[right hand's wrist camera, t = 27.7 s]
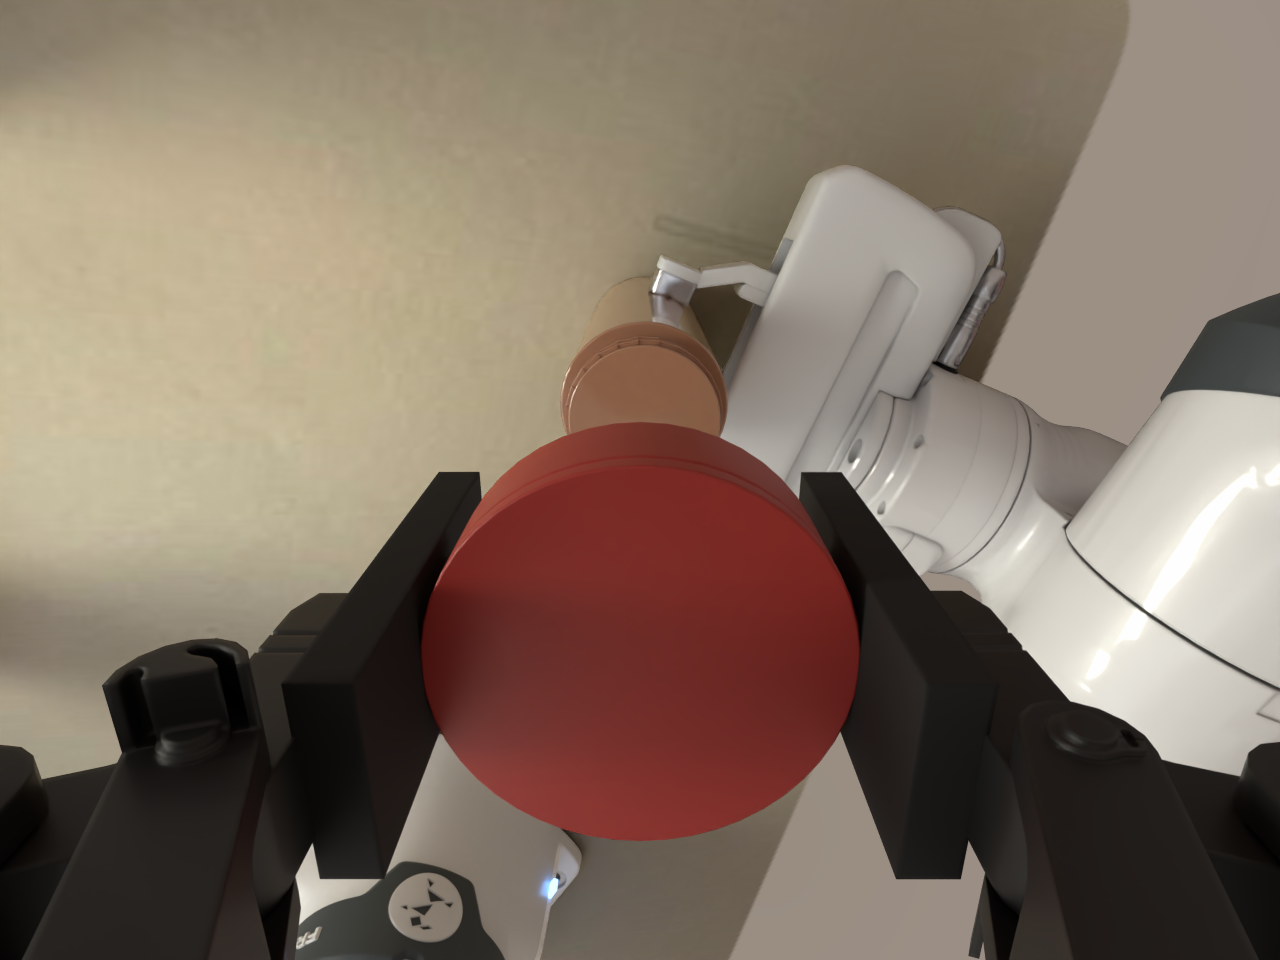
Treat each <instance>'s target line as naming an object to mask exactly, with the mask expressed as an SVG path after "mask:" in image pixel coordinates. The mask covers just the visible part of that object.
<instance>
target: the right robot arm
mask: <svg viewBox="0 0 1280 960" xmlns="http://www.w3.org/2000/svg"><path fill="white" fill-rule="evenodd" d="M481 500H482V498H481V486H480V473H479V472H439V473H438V474H437V475H436V477H435V478H434V479H433V481H432V482H431V483H430V485H429V486H428V487H427V489H426V490H425V491H424V493H423V494H422V495H421V497H420V498H419V499H418V501H417V502H416V503H415V505H414V506H413V507H412V509H411V510H410V511H409V513H408V514H407V516H406V517H405V518H404V520H403V521H402V522H401V524H400V525H399V526H398V528H397V529H396V530H395V532H394V533H393V534H392V536H391V537H390V538H389V540H388V541H387V542H386V544H385V545H384V546H383V548H382V549H381V550H380V552H379V553H378V554H377V556H376V557H375V558H374V560H373V561H372V562H371V564H370V565H369V566H368V568H367V569H366V570H365V572H364V573H363V574H362V576H361V577H360V579H359V580H358V581H357V583H356V584H355V585H354V587H353V588H352V589H351V591H350V592H349V593H319V594H317V595H316V596H314V597H313V598H311V599H309V600H308V601H306V602H304V603H303V604H301V605H299V606H298V607H296V608H295V609H293V610H291V611H290V612H289V614H288V615H287V616H286V617H285V618H284V619H283V621H282V622H281V623H280V624H279V625H278V626H277V628H276V629H275V630H274V631H273V635H270V636H269V637H268V638H267V639H266V640H265V642H264V643H263V644H262V645H261V646H260V647H259V652H258V653H254V654H253V656H252V657H251V658H250V659H249V656H248V651H247V650H246V649H245V648H244V647H242V646H241V645H240V644H238V643H237V642H234V641H228V640H223V639H218V638H215V639H198V640H189V641H185V642H181V643H176V644H172V645H168V646H164V647H161V648H159V649H156V650H154V651H151V652H149V653H146V654H144V655H141V656H139V657H137V658H135V659H134V660H132V661H131V662H129V663H127V664H126V665H124V666H123V667H121V668H119V669H118V670H116V671H115V672H114V673H113V674H112V675H111V677H110V678H109V679H108V680H107V681H106V682H105V683H104V684H103V685H102V687H103V691H104V694H105V697H106V701H107V704H108V707H109V711H110V714H111V717H112V721H113V724H114V727H115V731H116V734H117V737H118V741H119V744H120V747H121V751H122V754H121V756H120V758H119V760H118V762H117V763H116V764H112V765H108V766H104V767H99V768H95V769H90V770H85V771H80V772H75V773H70V774H66V775H61V776H56V777H51V778H46V779H41V776H40V773H39V771H38V768H37V765H36V762H35V759H34V756H33V755H32V754H30V753H29V752H27V751H26V750H25V749H23V748H22V747H15V746H5V745H0V960H295V953H296V944H297V936H298V928H299V920H300V912H301V903H300V896H299V890H298V885H297V881H296V874H297V872H298V870H299V868H300V866H301V864H302V862H303V861H304V859H305V857H306V855H307V853H308V851H309V849H310V847H311V845H312V843H313V848H314V853H315V858H316V863H317V868H318V873H319V878H320V879H384V878H385V876H386V873H387V871H388V868H389V865H390V863H391V860H392V857H393V855H394V852H395V849H396V847H397V844H398V841H399V839H400V836H401V833H402V831H403V828H404V826H405V823H406V820H407V818H408V815H409V812H410V810H411V807H412V804H413V802H414V799H415V796H416V794H417V791H418V788H419V786H420V783H421V781H422V778H423V775H424V773H425V770H426V767H427V765H428V762H429V759H430V757H431V754H432V751H433V749H434V746H435V744H436V741H437V738H438V736H439V733H440V729H439V727H438V725H437V723H436V721H435V719H434V717H433V714H432V711H431V708H430V706H429V703H428V700H427V697H426V693H425V687H424V680H423V672H422V663H421V650H420V644H421V635H422V627H423V620H424V617H425V613H426V609H427V606H428V602H429V598H430V596H431V593H432V591H433V589H434V587H435V585H436V582H437V580H438V578H439V576H440V574H441V572H442V570H443V568H444V566H445V564H446V563H447V561H448V559H449V557H450V555H451V553H452V551H453V549H454V547H455V546H456V544H457V542H458V540H459V538H460V536H461V534H462V533H463V531H464V529H465V527H466V525H467V523H468V521H469V520H470V518H471V516H472V514H473V513H474V511H475V510H476V508H477V506H478V505H479V503H480V502H481ZM799 500H800V502H801V504H802V505H803V507H804V508H805V510H806V512H807V513H808V515H809V516H810V518H811V520H812V522H813V524H814V525H815V527H816V529H817V531H818V533H819V535H820V537H821V538H822V540H823V542H824V544H825V546H826V548H827V550H828V551H829V553H830V555H831V557H832V559H833V561H834V563H835V564H836V566H837V568H838V570H839V572H840V574H841V576H842V578H843V580H844V582H845V585H846V587H847V589H848V592H849V594H850V596H851V598H852V602H853V606H854V610H855V613H856V617H857V621H858V627H859V636H860V659H859V668H858V676H857V684H856V692H855V697H854V700H853V702H852V705H851V708H850V711H849V714H848V716H847V719H846V721H845V723H844V725H843V727H842V729H841V731H840V732H841V734H842V737H843V740H844V742H845V745H846V748H847V750H848V753H849V756H850V758H851V761H852V763H853V766H854V769H855V771H856V774H857V777H858V779H859V782H860V785H861V787H862V790H863V793H864V795H865V798H866V800H867V803H868V806H869V808H870V811H871V814H872V816H873V819H874V822H875V824H876V827H877V830H878V832H879V835H880V838H881V840H882V843H883V845H884V848H885V851H886V853H887V856H888V859H889V861H890V864H891V867H892V869H893V872H894V875H895V877H896V879H961V875H962V870H963V865H964V860H965V855H966V850H967V845H968V840H969V842H970V844H971V846H972V848H973V850H974V852H975V854H976V856H977V858H978V860H979V862H980V863H981V865H982V867H983V869H984V871H985V876H984V881H983V885H982V890H981V895H980V899H979V904H978V909H977V913H976V918H975V923H974V928H973V932H972V937H971V943H970V949H969V956H971V957H975V958H978V959H979V957H980V952H981V948H982V943H984V951H985V959H986V960H1280V742H1273V743H1263V744H1260V745H1258V746H1257V747H1255V748H1254V749H1252V750H1251V751H1250V752H1249V753H1248V755H1247V758H1246V761H1245V764H1244V767H1243V770H1242V772H1241V775H1240V776H1236V775H1231V774H1226V773H1221V772H1217V771H1212V770H1207V769H1202V768H1197V767H1192V766H1188V765H1183V764H1178V763H1174V762H1170V761H1166V760H1162V759H1161V757H1160V755H1159V753H1158V751H1157V750H1156V749H1155V747H1154V746H1153V745H1152V744H1151V742H1150V741H1149V740H1148V738H1147V737H1146V736H1145V735H1144V734H1142V733H1141V732H1140V731H1138V730H1137V729H1136V728H1134V727H1133V726H1131V725H1130V724H1129V723H1127V722H1126V721H1124V720H1122V719H1120V718H1118V717H1116V716H1114V715H1112V714H1109V713H1107V712H1105V711H1103V710H1101V709H1098V708H1095V707H1091V706H1087V705H1083V704H1080V703H1076V702H1070V700H1069V699H1068V698H1067V697H1066V696H1065V695H1064V693H1063V692H1062V691H1061V690H1060V689H1059V688H1058V686H1057V685H1056V684H1055V683H1054V682H1053V681H1052V679H1051V678H1050V677H1049V676H1048V675H1047V674H1046V673H1045V671H1044V670H1043V669H1042V668H1041V667H1040V666H1039V664H1038V663H1037V662H1036V661H1035V660H1034V659H1033V657H1032V656H1031V655H1030V654H1029V653H1028V652H1027V650H1023V649H1022V645H1021V644H1020V642H1019V641H1018V640H1017V639H1016V638H1015V637H1014V635H1013V634H1012V633H1008V628H1007V627H1006V626H1005V625H1004V624H1003V623H1002V621H1001V620H1000V619H999V618H998V617H997V616H996V615H995V613H994V612H993V611H992V610H991V609H990V608H989V607H987V606H986V605H984V604H982V603H981V602H979V601H977V600H976V599H974V598H972V597H971V596H969V595H967V594H966V593H964V592H962V591H930V590H929V589H928V587H927V586H926V585H925V583H924V582H923V581H922V579H921V578H920V576H919V575H918V574H917V572H916V571H915V570H914V568H913V567H912V566H911V564H910V563H909V562H908V560H907V559H906V558H905V556H904V555H903V554H902V552H901V551H900V550H899V548H898V547H897V546H896V544H895V543H894V542H893V540H892V539H891V538H890V536H889V535H888V534H887V532H886V531H885V530H884V528H883V527H882V526H881V524H880V523H879V522H878V520H877V519H876V518H875V516H874V515H873V514H872V512H871V511H870V510H869V508H868V507H867V505H866V504H865V503H864V501H863V500H862V499H861V497H860V496H859V495H858V493H857V492H856V491H855V489H854V488H853V487H852V485H851V484H850V483H849V481H848V480H847V479H846V477H845V476H844V475H843V473H842V472H801V479H800V492H799Z"/></svg>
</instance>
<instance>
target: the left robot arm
mask: <svg viewBox="0 0 1280 960" xmlns="http://www.w3.org/2000/svg"><path fill="white" fill-rule="evenodd" d="M994 253H995V256H994V262H993V266H989V265H988V264H989V262H990V260H991V259H992V257H993V255H994ZM1004 260H1005V244H1004V240H1003V237H1002V235H1001V233H1000V231H999V230H998V229H997V228H996V226H995V225H993V224H992V223H991V222H989V221H988V220H986V219H983V218H981V217H979V216H977V215H975V214H973V213H970V212H968V211H966V210H964V209H962V208H958V207H954V206H943V207H938V208H934V209H930V208H929V207H927V206H926V205H924V204H923V203H922V202H920V201H919V200H917V199H915V198H914V197H912V196H911V195H909V194H908V193H906V192H904V191H903V190H901V189H900V188H898V187H896V186H894V185H893V184H891V183H889V182H887V181H886V180H884V179H882V178H880V177H878V176H876V175H874V174H872V173H870V172H868V171H866V170H864V169H862V168H860V167H857V166H852V165H840V166H836V167H833V168H830V169H827V170H825V171H823V172H821V173H818V174H816V175H814V176H813V177H812V178H811V179H810V180H809V181H808V183H807V185H806V187H805V189H804V191H803V194H802V196H801V198H800V200H799V203H798V205H797V207H796V209H795V211H794V214H793V216H792V218H791V220H790V223H789V225H788V227H787V229H786V232H785V234H784V236H783V238H782V241H781V243H780V245H779V247H778V250H777V252H776V254H775V256H774V259H773V261H772V263H771V265H770V267H769V270H766V269H764V268H761V267H759V266H756V265H754V264H752V263H749V262H747V261H738V262H731V263H725V264H718V265H711V266H705V267H700V269H699V270H698V269H696V268H693V267H691V266H689V265H686V264H684V263H682V262H679V261H677V260H675V259H672V258H670V257H667V256H664V255H660V258H659V261H658V263H657V266H656V268H655V271H654V274H653V276H652V279H651V282H650V284H649V287H648V289H649V290H650V291H652V292H654V293H656V294H659V295H663V296H667V295H670V296H671V298H672V299H673V300H675V301H676V302H678V303H680V304H683V305H685V306H688V304H689V302H690V300H691V298H692V295H693V293H694V291H695V289H696V288H697V289H698V288H706V287H713V286H721V285H728V284H735V286H734V288H733V289H734V292H735V293H736V294H737V295H738V296H739V297H741V298H743V299H745V300H747V301H750V302H752V303H753V306H752V308H751V310H750V312H749V314H748V317H747V319H746V321H745V323H744V326H743V328H742V330H741V332H740V335H739V337H738V339H737V341H736V344H735V346H734V348H733V350H732V353H731V355H730V357H729V359H728V362H727V364H726V366H725V368H724V370H723V373H722V374H723V377H724V380H725V384H726V387H727V395H728V412H727V418H726V423H725V426H724V429H723V432H722V434H721V436H720V438H722V439H724V440H726V441H728V442H730V443H732V444H734V445H736V446H738V447H740V448H742V449H744V450H745V451H747V452H748V453H750V454H751V455H753V456H754V457H756V458H757V459H759V460H760V461H762V462H763V463H764V464H766V465H767V466H768V467H769V468H770V469H771V470H772V471H774V472H775V473H776V474H777V475H778V476H779V477H780V478H781V479H782V480H783V481H784V482H785V483H786V484H787V486H788V487H789V488H790V489H791V490H792V491H793V493H794V494H795V495H796V496H797V497H798V499H799V492H800V479H801V472H842V473H843V475H844V476H845V477H846V479H847V480H848V481H849V483H850V484H851V485H852V487H853V488H854V489H855V491H856V492H857V493H858V495H859V496H860V497H861V499H862V500H863V501H864V503H865V504H866V505H867V507H868V508H869V510H870V511H871V512H872V514H873V515H874V516H875V518H876V519H877V520H878V522H879V523H880V524H881V526H882V527H883V528H884V530H885V531H886V532H887V534H888V535H889V536H890V538H891V539H892V540H893V542H894V543H895V544H896V546H897V547H898V548H899V550H900V551H901V552H902V554H903V555H904V556H905V558H906V559H907V560H908V562H909V563H910V564H911V566H912V567H913V568H914V570H915V571H916V572H917V574H918V575H919V576H921V575H923V574H924V573H926V572H927V571H928V572H931V573H937V574H944V575H951V576H955V577H958V578H960V579H963V580H965V581H967V582H968V583H970V584H971V585H972V586H973V587H974V588H975V589H976V590H977V591H978V592H979V594H980V597H981V603H982V604H984V605H986V606H987V607H989V608H990V609H991V610H992V611H993V612H994V613H995V615H996V616H997V617H998V618H999V619H1000V620H1001V621H1002V623H1003V624H1004V625H1005V626H1006V627H1007V628H1008V633H1012V634H1013V635H1014V637H1015V638H1016V639H1017V640H1018V641H1019V642H1020V644H1021V645H1022V649H1023V650H1027V652H1028V653H1029V654H1030V655H1031V656H1032V657H1033V659H1034V660H1035V661H1036V662H1037V663H1038V664H1039V666H1040V667H1041V668H1042V669H1043V670H1044V671H1045V673H1046V674H1047V675H1048V676H1049V677H1050V678H1051V679H1052V681H1053V682H1054V683H1055V684H1056V685H1057V686H1058V688H1059V689H1060V690H1061V691H1062V692H1063V693H1064V695H1065V696H1066V697H1067V698H1068V699H1069V700H1070V702H1076V703H1080V704H1083V705H1087V706H1091V707H1095V708H1098V709H1101V710H1103V711H1105V712H1107V713H1109V714H1112V715H1114V716H1116V717H1118V718H1120V719H1122V720H1124V721H1126V722H1127V723H1129V724H1130V725H1131V726H1133V727H1134V728H1136V729H1137V730H1138V731H1140V732H1141V733H1142V734H1144V735H1145V736H1146V737H1147V738H1148V740H1149V741H1150V742H1151V744H1152V745H1153V746H1154V747H1155V749H1156V750H1157V751H1158V753H1159V755H1160V757H1161V759H1162V760H1166V761H1170V762H1174V763H1178V764H1183V765H1188V766H1192V767H1197V768H1202V769H1207V770H1212V771H1217V772H1221V773H1226V774H1231V775H1236V776H1240V775H1241V772H1242V770H1243V767H1244V764H1245V761H1246V758H1247V755H1248V753H1249V752H1250V751H1251V750H1252V749H1254V748H1255V747H1257V746H1258V745H1260V744H1263V743H1273V742H1280V293H1279V294H1276V295H1273V296H1269V297H1266V298H1264V299H1261V300H1258V301H1256V302H1253V303H1250V304H1248V305H1245V306H1242V307H1240V308H1237V309H1235V310H1232V311H1230V312H1228V313H1225V314H1223V315H1221V316H1218V317H1216V318H1214V319H1211V320H1209V321H1208V322H1207V324H1206V326H1205V327H1204V329H1203V330H1202V332H1201V334H1200V335H1199V337H1198V338H1197V340H1196V341H1195V343H1194V345H1193V346H1192V348H1191V349H1190V351H1189V353H1188V354H1187V356H1186V357H1185V359H1184V361H1183V362H1182V364H1181V365H1180V367H1179V368H1178V370H1177V372H1176V373H1175V375H1174V376H1173V378H1172V380H1171V381H1170V383H1169V384H1168V386H1167V387H1166V389H1165V391H1164V392H1163V394H1162V396H1161V403H1160V405H1159V406H1158V407H1157V409H1156V410H1155V411H1154V412H1153V414H1152V415H1151V416H1150V418H1149V419H1148V420H1147V422H1146V423H1145V424H1144V426H1143V427H1142V428H1141V430H1140V431H1139V432H1138V434H1137V435H1136V436H1135V438H1134V439H1133V440H1132V442H1131V443H1130V444H1129V445H1128V446H1127V445H1125V444H1123V443H1120V442H1118V441H1116V440H1114V439H1111V438H1109V437H1107V436H1104V435H1102V434H1100V433H1097V432H1095V431H1092V430H1089V429H1084V428H1080V427H1071V426H1060V425H1056V424H1053V423H1050V422H1048V421H1046V420H1045V419H1043V418H1041V417H1040V416H1039V415H1038V414H1037V413H1036V412H1035V411H1034V410H1033V409H1031V408H1030V407H1029V406H1028V405H1026V404H1025V403H1023V402H1022V401H1020V400H1018V399H1017V398H1014V397H1012V396H1010V395H1007V394H1005V393H1002V392H1000V391H998V390H996V389H993V388H991V387H988V386H986V385H984V384H981V383H979V382H977V381H974V380H972V379H970V378H967V377H965V376H963V375H960V374H958V372H956V371H957V370H958V368H959V366H960V364H961V362H962V361H963V359H964V357H965V355H966V353H967V351H968V349H969V348H970V346H971V344H972V342H973V340H974V338H975V336H976V334H977V331H978V329H979V327H980V326H979V325H980V324H981V322H982V318H984V316H985V313H986V312H987V310H988V308H989V307H990V305H991V303H994V301H995V300H996V299H997V297H998V295H999V294H1000V292H1001V290H1002V288H1003V285H1004V283H1005V280H1006V276H1007V273H1006V272H1005V271H1003V270H1002V268H1003V265H1004ZM932 361H935V362H933V363H931V362H932ZM581 861H582V854H581V852H580V850H579V848H578V847H577V845H576V844H575V843H574V842H573V841H572V840H571V839H570V838H569V836H568V835H567V834H566V833H565V832H564V831H563V830H562V829H561V828H559V827H556V826H554V825H551V824H548V823H546V822H543V821H541V820H538V819H536V818H534V817H532V816H530V815H528V814H526V813H524V812H522V811H521V810H519V809H517V808H515V807H514V806H512V805H511V804H509V803H507V802H506V801H504V800H503V799H501V798H500V797H498V796H497V795H495V794H494V793H493V792H492V791H491V790H489V789H488V788H487V787H486V786H485V785H484V784H482V783H481V782H480V781H479V780H478V779H476V778H475V776H474V775H473V774H472V773H471V772H470V771H469V770H468V769H467V768H466V767H465V766H464V765H463V764H462V762H461V761H460V760H459V759H458V757H457V756H456V755H455V753H454V752H453V750H452V749H451V748H450V746H449V745H448V743H447V742H446V740H445V739H444V737H443V735H442V734H439V736H438V738H437V741H436V744H435V746H434V749H433V751H432V754H431V757H430V759H429V762H428V765H427V767H426V770H425V773H424V775H423V778H422V781H421V783H420V786H419V788H418V791H417V794H416V796H415V799H414V802H413V804H412V807H411V810H410V812H409V815H408V818H407V820H406V823H405V826H404V828H403V831H402V833H401V836H400V839H399V841H398V844H397V847H396V849H395V852H394V855H393V857H392V860H391V863H390V865H389V868H388V871H387V873H386V876H385V878H384V879H320V878H319V873H318V868H317V863H316V858H315V853H314V848H313V843H312V845H311V847H310V849H309V851H308V853H307V855H306V857H305V859H304V861H303V862H302V864H301V866H300V868H299V870H298V872H297V874H296V881H297V885H298V890H299V896H300V903H301V912H300V920H299V928H298V936H297V944H296V953H295V960H540V957H541V954H542V950H543V945H544V939H545V934H546V929H547V923H548V918H549V913H550V907H551V906H552V905H553V904H554V902H555V901H556V900H557V899H558V898H559V896H560V895H561V894H562V893H563V891H564V890H565V889H566V888H567V887H568V885H569V884H570V883H571V882H572V881H573V879H574V878H575V877H576V876H577V874H578V873H579V870H580V865H581Z"/></svg>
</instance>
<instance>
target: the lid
mask: <svg viewBox="0 0 1280 960" xmlns="http://www.w3.org/2000/svg"><path fill="white" fill-rule="evenodd" d="M420 650H421V663H422V672H423V680H424V687H425V693H426V697H427V700H428V703H429V706H430V708H431V711H432V714H433V717H434V719H435V721H436V723H437V725H438V727H439V729H440V731H441V733H442V735H443V737H444V739H445V740H446V742H447V743H448V745H449V746H450V748H451V749H452V750H453V752H454V753H455V755H456V756H457V757H458V759H459V760H460V761H461V762H462V764H463V765H464V766H465V767H466V768H467V769H468V770H469V771H470V772H471V773H472V774H473V775H474V776H475V778H476V779H478V780H479V781H480V782H481V783H482V784H484V785H485V786H486V787H487V788H488V789H489V790H491V791H492V792H493V793H494V794H495V795H497V796H498V797H500V798H501V799H503V800H504V801H506V802H507V803H509V804H511V805H512V806H514V807H515V808H517V809H519V810H521V811H522V812H524V813H526V814H528V815H530V816H532V817H534V818H536V819H538V820H541V821H543V822H546V823H548V824H551V825H554V826H556V827H559V828H562V829H565V830H569V831H572V832H576V833H580V834H584V835H588V836H594V837H600V838H607V839H613V840H631V841H650V840H667V839H674V838H681V837H687V836H693V835H697V834H701V833H705V832H708V831H712V830H716V829H719V828H722V827H724V826H727V825H730V824H732V823H735V822H738V821H740V820H742V819H744V818H746V817H748V816H750V815H752V814H754V813H756V812H758V811H760V810H762V809H764V808H766V807H767V806H769V805H770V804H772V803H773V802H775V801H776V800H778V799H779V798H781V797H783V796H784V795H785V794H787V793H788V792H789V791H790V790H791V789H793V788H794V787H795V786H796V785H797V784H799V783H800V782H801V781H802V780H803V779H804V778H805V777H806V776H807V775H808V774H809V773H810V772H811V771H812V770H813V769H814V768H815V767H816V766H817V764H818V763H819V762H820V761H821V760H822V758H823V757H824V756H825V754H826V753H827V751H828V750H829V749H830V747H831V746H832V745H833V743H834V742H835V740H836V738H837V736H838V734H839V733H840V731H841V729H842V727H843V725H844V723H845V721H846V719H847V716H848V714H849V711H850V708H851V705H852V702H853V700H854V697H855V692H856V684H857V676H858V668H859V659H860V636H859V627H858V621H857V617H856V613H855V610H854V606H853V602H852V598H851V596H850V594H849V592H848V589H847V587H846V585H845V582H844V580H843V578H842V576H841V574H840V572H839V570H838V568H837V566H836V564H835V563H834V561H833V559H832V557H831V555H830V553H829V551H828V550H827V548H826V546H825V544H824V542H823V540H822V538H821V537H820V535H819V533H818V531H817V529H816V527H815V525H814V524H813V522H812V520H811V518H810V516H809V515H808V513H807V512H806V510H805V508H804V507H803V505H802V504H801V502H800V500H799V499H798V497H797V496H796V495H795V494H794V493H793V491H792V490H791V489H790V488H789V487H788V486H787V484H786V483H785V482H784V481H783V480H782V479H781V478H780V477H779V476H778V475H777V474H776V473H775V472H774V471H772V470H771V469H770V468H769V467H768V466H767V465H766V464H764V463H763V462H762V461H760V460H759V459H757V458H756V457H754V456H753V455H751V454H750V453H748V452H747V451H745V450H744V449H742V448H740V447H738V446H736V445H734V444H732V443H730V442H728V441H726V440H724V439H722V438H720V437H717V436H714V435H711V434H708V433H705V432H702V431H699V430H696V429H693V428H687V427H682V426H677V425H672V424H666V423H650V422H631V423H614V424H609V425H604V426H598V427H593V428H588V429H585V430H582V431H579V432H576V433H573V434H570V435H567V436H563V437H561V438H559V439H557V440H555V441H553V442H551V443H549V444H547V445H545V446H542V447H540V448H539V449H537V450H536V451H534V452H533V453H531V454H530V455H528V456H526V457H525V458H523V459H522V460H520V461H519V462H518V463H516V464H515V465H514V466H513V467H512V468H511V469H510V470H508V471H507V472H506V473H505V474H504V475H503V476H501V477H500V478H499V480H498V481H497V482H496V483H495V484H494V485H493V486H492V488H491V489H490V490H489V491H488V492H487V493H486V494H485V496H484V497H483V499H482V500H481V502H480V503H479V505H478V506H477V508H476V510H475V511H474V513H473V514H472V516H471V518H470V520H469V521H468V523H467V525H466V527H465V529H464V531H463V533H462V534H461V536H460V538H459V540H458V542H457V544H456V546H455V547H454V549H453V551H452V553H451V555H450V557H449V559H448V561H447V563H446V564H445V566H444V568H443V570H442V572H441V574H440V576H439V578H438V580H437V582H436V585H435V587H434V589H433V591H432V593H431V596H430V598H429V602H428V606H427V609H426V613H425V617H424V620H423V627H422V635H421V644H420Z"/></svg>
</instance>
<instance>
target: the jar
mask: <svg viewBox="0 0 1280 960" xmlns="http://www.w3.org/2000/svg"><path fill="white" fill-rule="evenodd" d="M651 279H652V278H651V277H637V278H631V279H628V280H625V281H623V282H620V283H618V284H617V285H615V286H614V287H612V288H611V289H610V290H609V291H608V292H607V293H606V294H605V295H604V296H603V297H602V298H601V300H600V301H599V303H598V305H597V307H596V309H595V311H594V313H593V315H592V318H591V320H590V322H589V324H588V326H587V328H586V331H585V333H584V335H583V337H582V339H581V342H580V344H579V346H578V348H577V350H576V353H575V355H574V357H573V359H572V361H571V364H570V366H569V368H568V370H567V373H566V376H565V378H564V381H563V386H562V390H561V401H560V404H561V416H562V421H563V425H564V428H565V431H566V434H567V435H570V434H573V433H576V432H579V431H582V430H585V429H588V428H593V427H598V426H604V425H609V424H614V423H631V422H650V423H666V424H672V425H677V426H682V427H687V428H693V429H696V430H699V431H702V432H705V433H708V434H711V435H714V436H717V437H720V436H721V434H722V432H723V429H724V426H725V423H726V418H727V412H728V395H727V387H726V384H725V380H724V377H723V374H722V372H721V369H720V367H719V365H718V363H717V361H716V358H715V356H714V354H713V352H712V350H711V348H710V346H709V344H708V342H707V339H706V337H705V335H704V333H703V331H702V329H701V327H700V325H699V323H698V320H697V318H696V316H695V314H694V312H693V310H692V308H691V306H690V304H688V306H685V305H683V304H680V303H678V302H676V301H675V300H673V299H672V298H671V296H670V295H667V296H663V295H659V294H656V293H654V292H652V291H650V290H649V289H648V287H649V284H650V282H651Z"/></svg>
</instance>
